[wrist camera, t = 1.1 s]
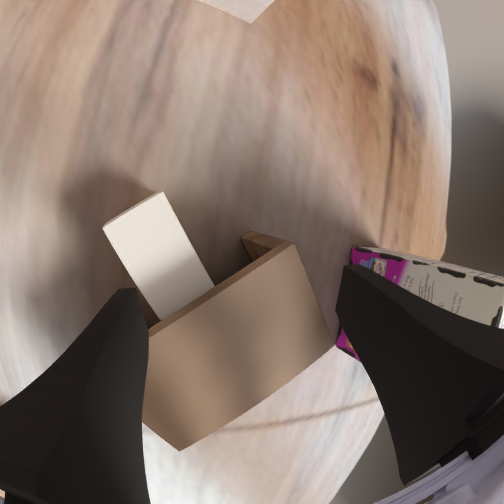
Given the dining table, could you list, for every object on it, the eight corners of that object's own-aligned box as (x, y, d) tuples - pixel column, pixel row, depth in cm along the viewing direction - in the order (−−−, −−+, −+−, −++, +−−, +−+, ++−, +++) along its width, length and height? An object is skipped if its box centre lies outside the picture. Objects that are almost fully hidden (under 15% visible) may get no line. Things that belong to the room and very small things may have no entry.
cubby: (163, 403, 22) (179, 451, 16) (96, 328, 18) (92, 373, 13) (291, 317, 25) (333, 345, 20) (251, 231, 22) (294, 243, 17)
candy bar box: (364, 338, 31) (478, 399, 16) (333, 346, 29) (456, 424, 14) (381, 244, 29) (519, 280, 15) (350, 243, 27) (509, 286, 12)
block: (170, 323, 21) (181, 348, 17) (106, 222, 18) (102, 228, 14) (213, 296, 22) (232, 315, 19) (155, 192, 19) (163, 191, 15)
